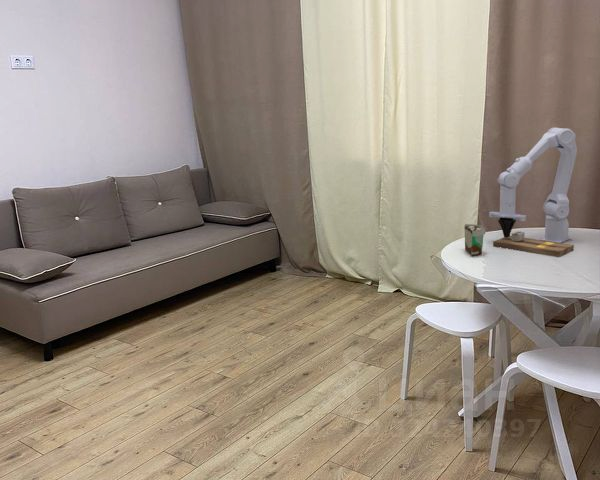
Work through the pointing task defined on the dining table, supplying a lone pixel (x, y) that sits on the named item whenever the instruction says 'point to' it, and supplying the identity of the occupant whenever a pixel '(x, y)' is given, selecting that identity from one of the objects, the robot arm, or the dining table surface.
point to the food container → (474, 239)
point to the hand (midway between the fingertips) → (506, 236)
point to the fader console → (535, 246)
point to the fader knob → (517, 236)
